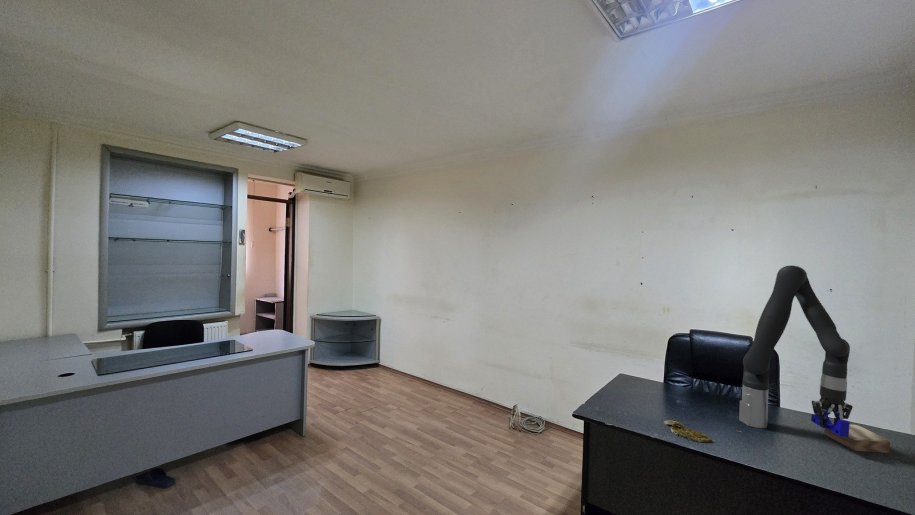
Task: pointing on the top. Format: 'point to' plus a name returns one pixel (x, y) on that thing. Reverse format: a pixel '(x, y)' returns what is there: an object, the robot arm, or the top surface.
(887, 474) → the top surface
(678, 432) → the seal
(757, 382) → the robot arm
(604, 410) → the top surface
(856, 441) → the stand
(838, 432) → the cable clip
